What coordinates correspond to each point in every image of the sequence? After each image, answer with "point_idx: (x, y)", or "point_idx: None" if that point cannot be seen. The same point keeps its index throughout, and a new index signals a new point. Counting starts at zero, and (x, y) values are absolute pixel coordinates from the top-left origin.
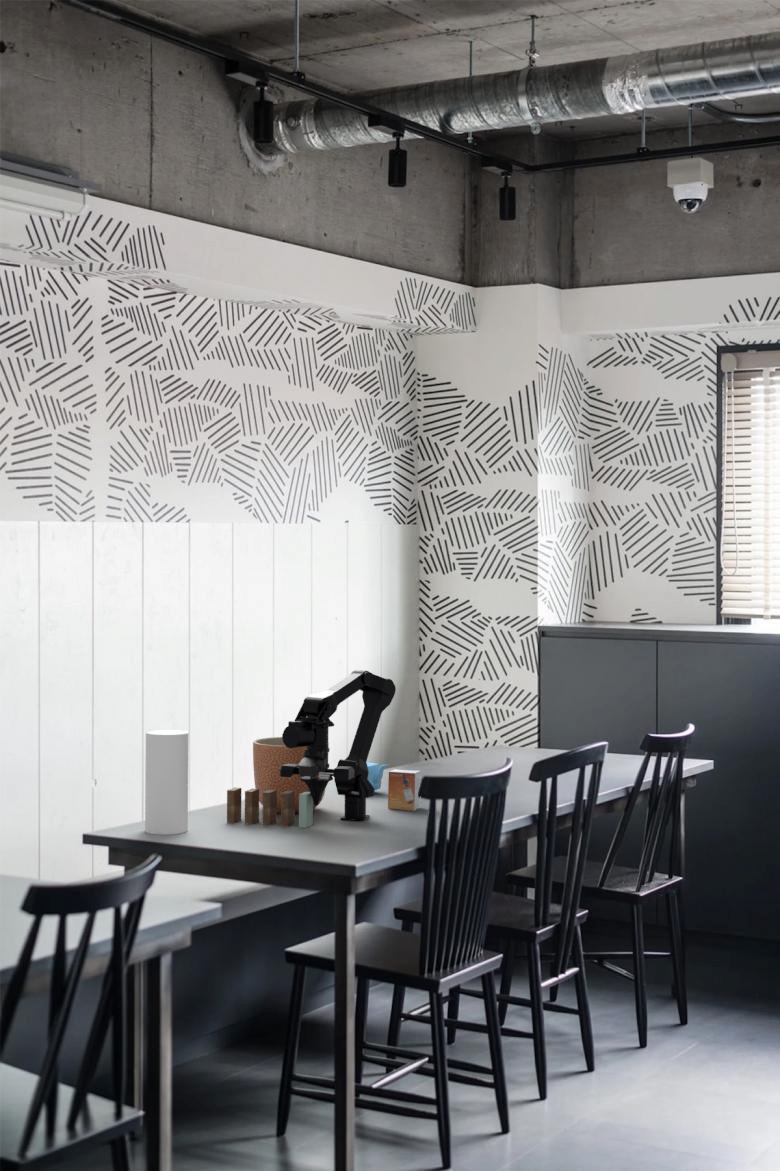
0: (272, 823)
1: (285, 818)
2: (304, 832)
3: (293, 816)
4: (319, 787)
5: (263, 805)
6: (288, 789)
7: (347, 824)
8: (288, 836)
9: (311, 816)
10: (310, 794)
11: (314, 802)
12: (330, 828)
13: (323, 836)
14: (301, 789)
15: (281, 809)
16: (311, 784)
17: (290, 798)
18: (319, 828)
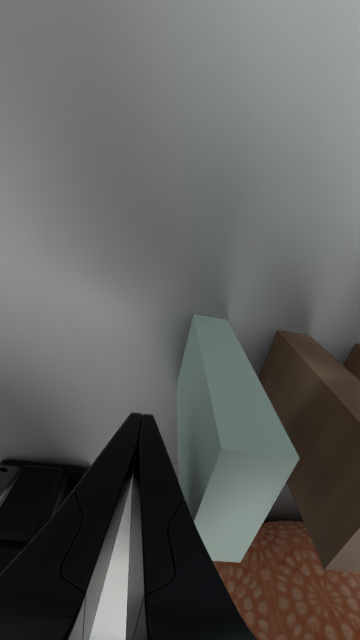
0: None
1: (306, 350)
2: (185, 187)
3: None
4: (46, 574)
5: None
6: (326, 627)
7: (38, 405)
8: (274, 6)
9: (180, 399)
10: (192, 511)
11: (151, 425)
12: (79, 317)
13: (40, 47)
14: (263, 635)
15: (358, 381)
16: (170, 638)
17: (341, 463)
18: (129, 309)
